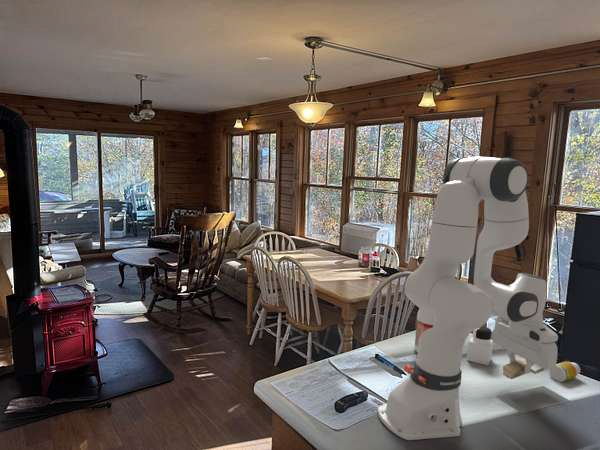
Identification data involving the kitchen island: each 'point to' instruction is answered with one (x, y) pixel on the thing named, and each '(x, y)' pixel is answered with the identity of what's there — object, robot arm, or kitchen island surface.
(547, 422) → the kitchen island surface
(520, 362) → the putty knife
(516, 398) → the mat
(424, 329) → the fruit juice
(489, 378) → the kitchen island surface
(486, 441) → the kitchen island surface
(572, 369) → the supplement bottle
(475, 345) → the medicine bottle
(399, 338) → the kitchen island surface
